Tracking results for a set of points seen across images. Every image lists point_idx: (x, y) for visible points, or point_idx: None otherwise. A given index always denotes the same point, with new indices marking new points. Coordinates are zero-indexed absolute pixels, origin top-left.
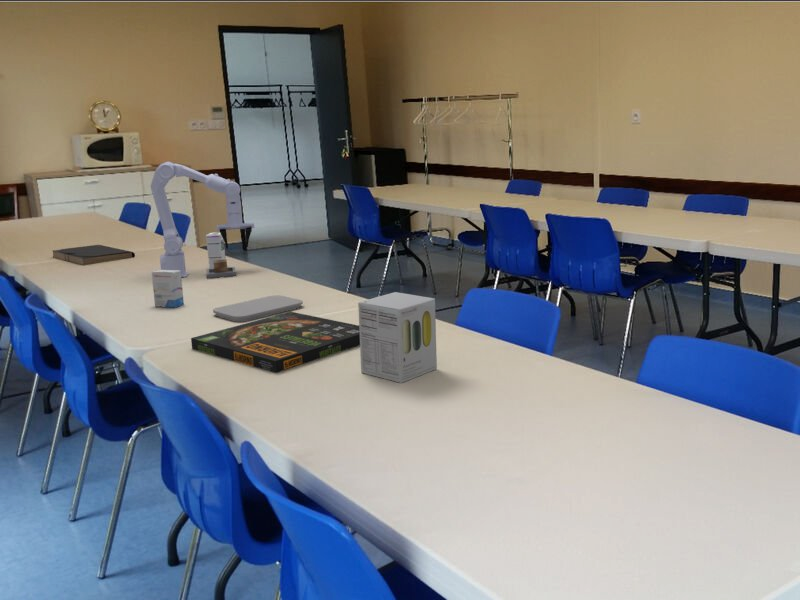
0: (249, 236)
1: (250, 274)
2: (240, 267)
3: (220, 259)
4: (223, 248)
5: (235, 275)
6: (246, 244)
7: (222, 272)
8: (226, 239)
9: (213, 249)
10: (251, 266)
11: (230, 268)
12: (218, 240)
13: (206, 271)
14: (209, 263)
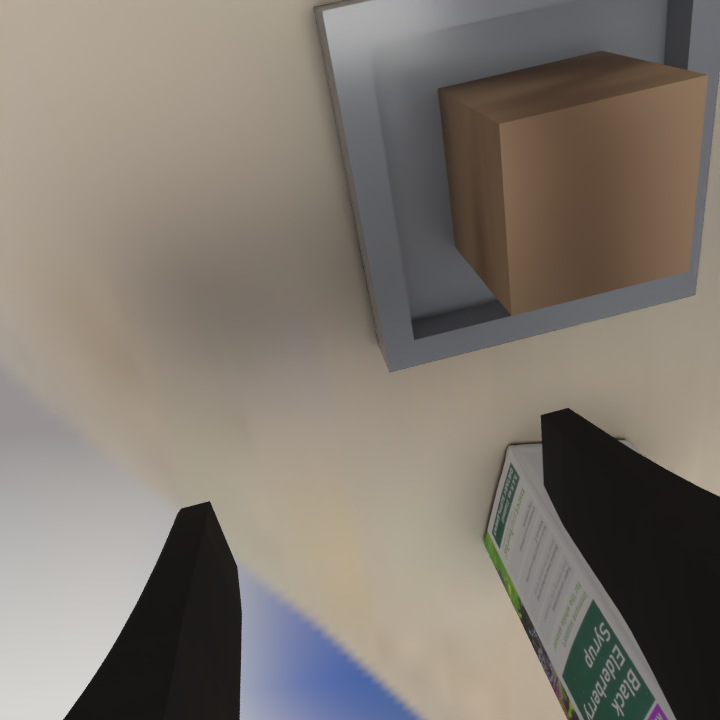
0: (79, 701)
1: (138, 129)
2: (350, 516)
3: None
4: (574, 667)
5: (324, 7)
6: (195, 535)
7: (516, 11)
8: (659, 511)
9: None
10: (249, 550)
11: (431, 331)
12: None
13: (711, 142)
14: None
